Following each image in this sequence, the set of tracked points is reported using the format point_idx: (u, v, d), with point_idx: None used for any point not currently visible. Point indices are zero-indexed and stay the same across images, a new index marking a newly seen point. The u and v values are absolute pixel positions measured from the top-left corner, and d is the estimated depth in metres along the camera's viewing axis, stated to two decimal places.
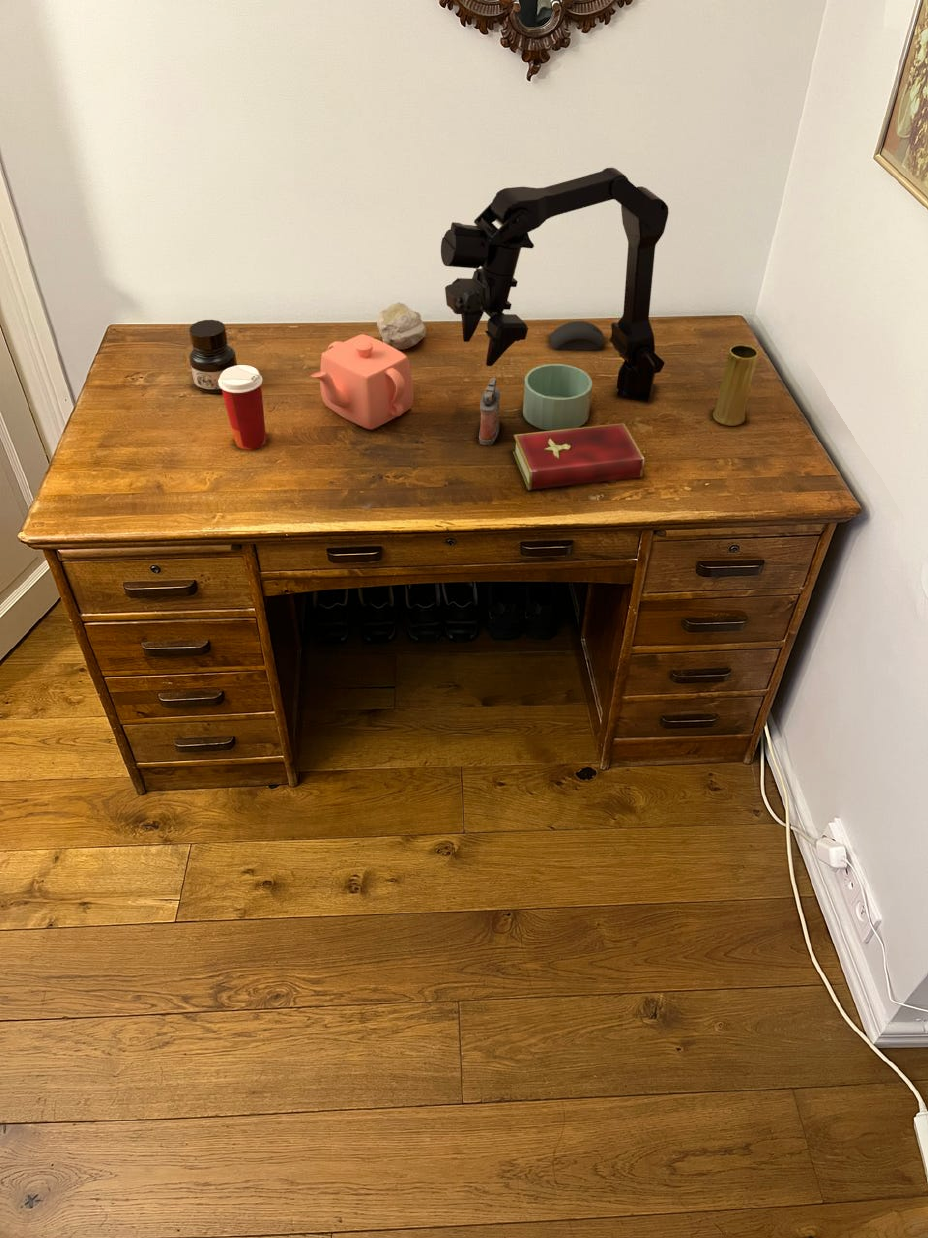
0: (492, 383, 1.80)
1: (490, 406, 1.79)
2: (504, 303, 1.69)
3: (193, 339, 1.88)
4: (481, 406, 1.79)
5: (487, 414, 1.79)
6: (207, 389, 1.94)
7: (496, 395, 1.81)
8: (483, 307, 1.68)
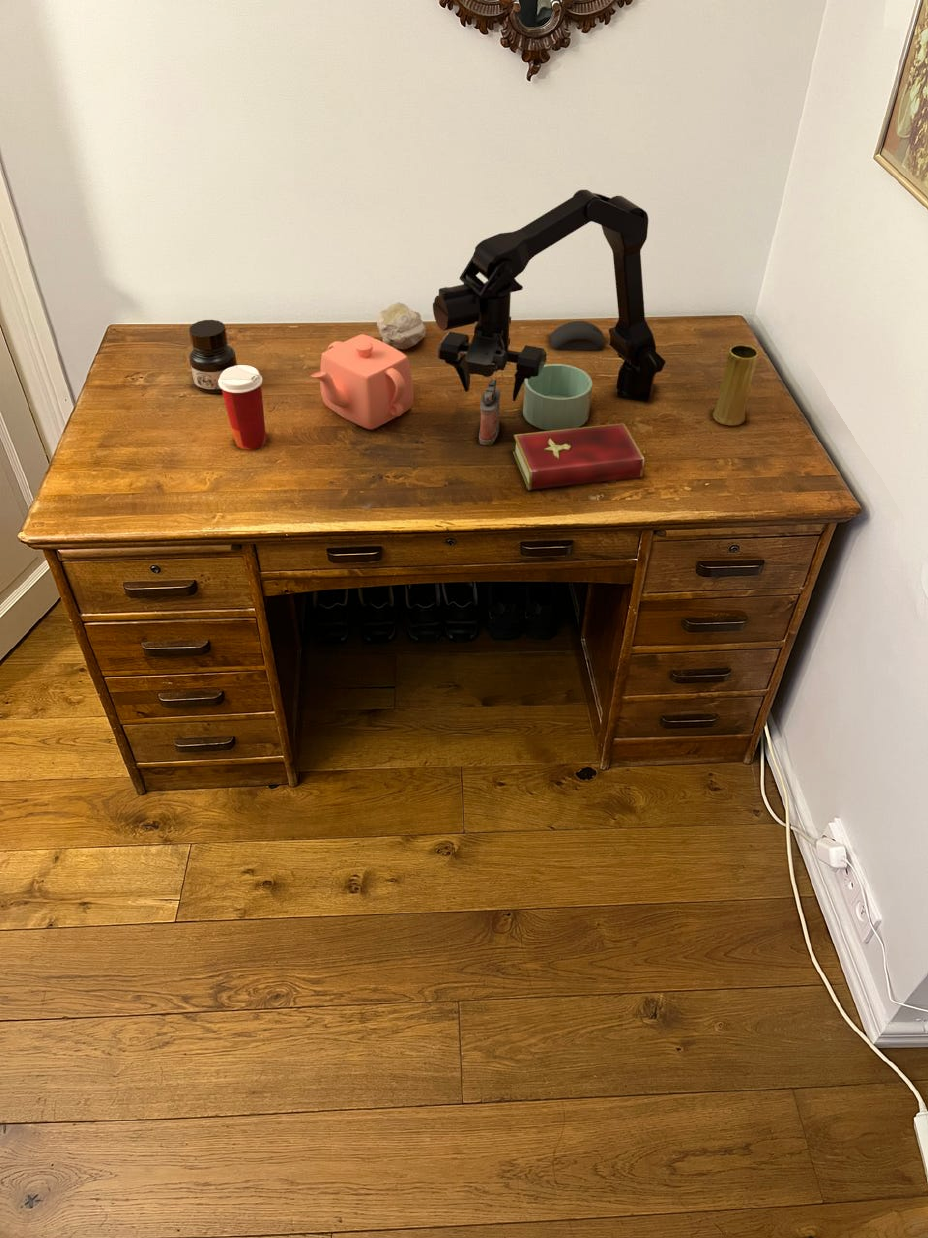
0: (492, 383, 1.80)
1: (490, 406, 1.79)
2: (508, 341, 1.73)
3: (193, 339, 1.88)
4: (481, 406, 1.79)
5: (487, 414, 1.79)
6: (207, 389, 1.94)
7: (496, 395, 1.81)
8: None
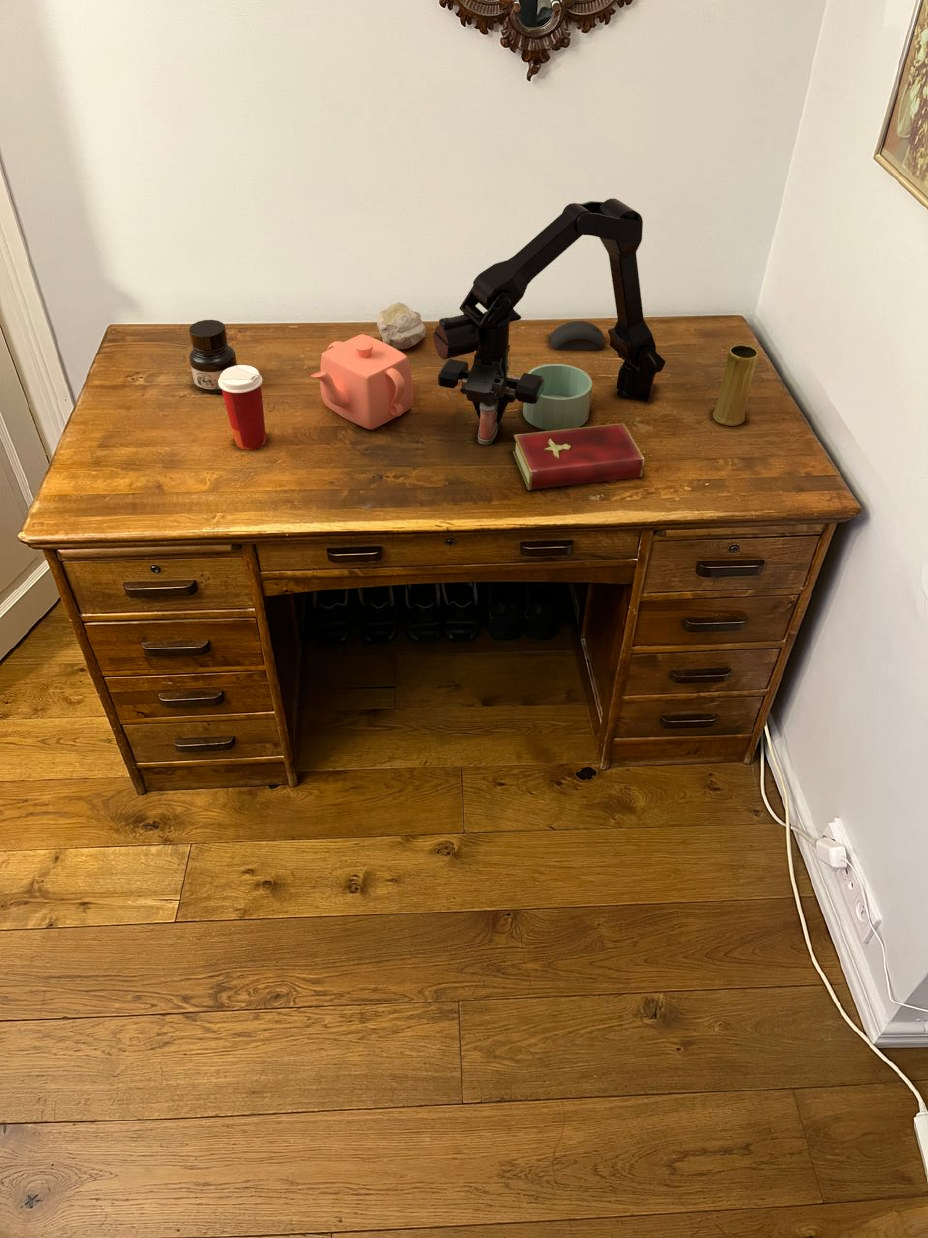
0: None
1: (490, 405, 1.79)
2: (507, 369, 1.77)
3: (193, 339, 1.88)
4: (481, 406, 1.79)
5: (487, 414, 1.79)
6: (207, 389, 1.94)
7: None
8: None
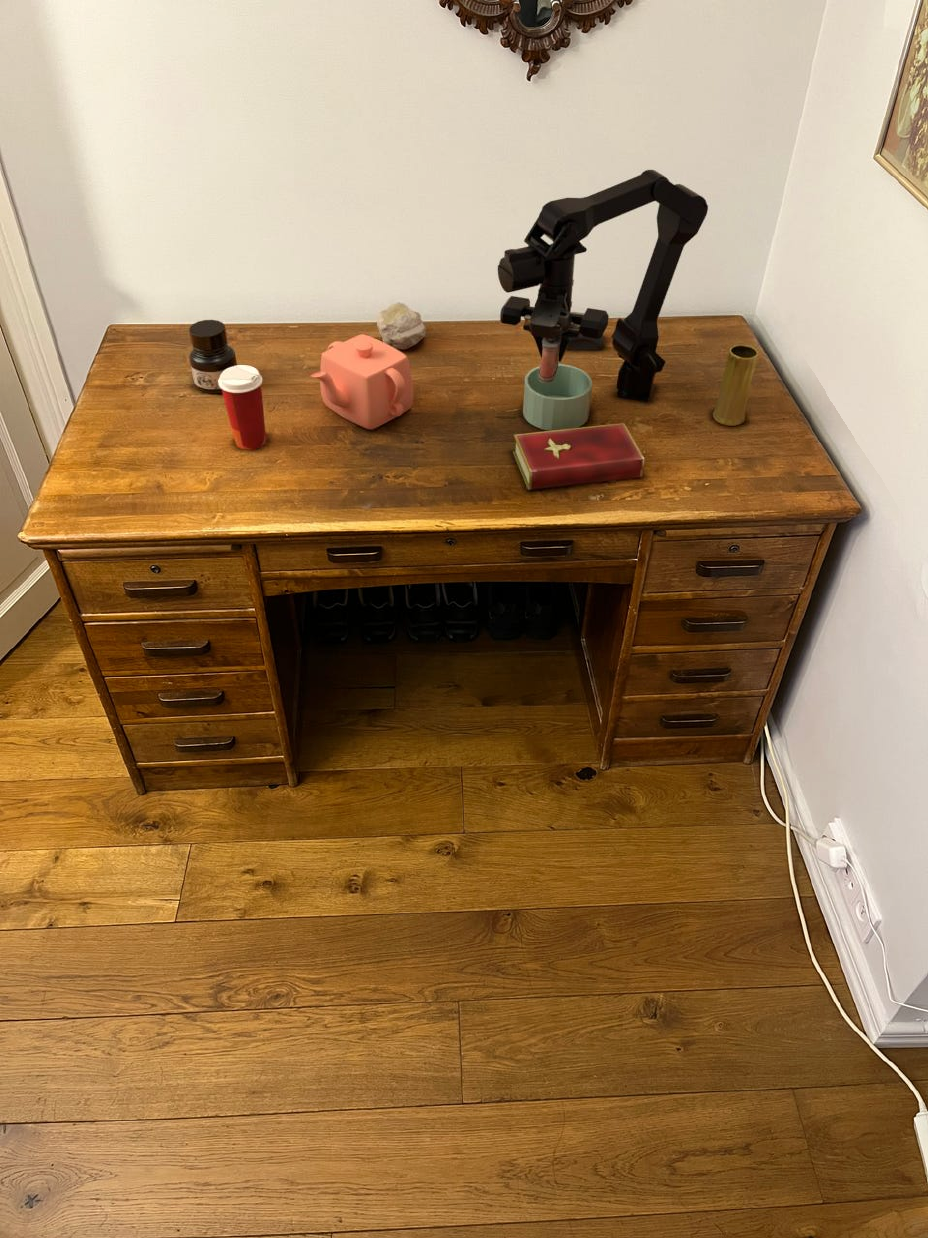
0: None
1: (553, 342, 1.77)
2: None
3: (193, 339, 1.88)
4: (544, 342, 1.76)
5: (550, 351, 1.76)
6: (207, 389, 1.94)
7: None
8: None
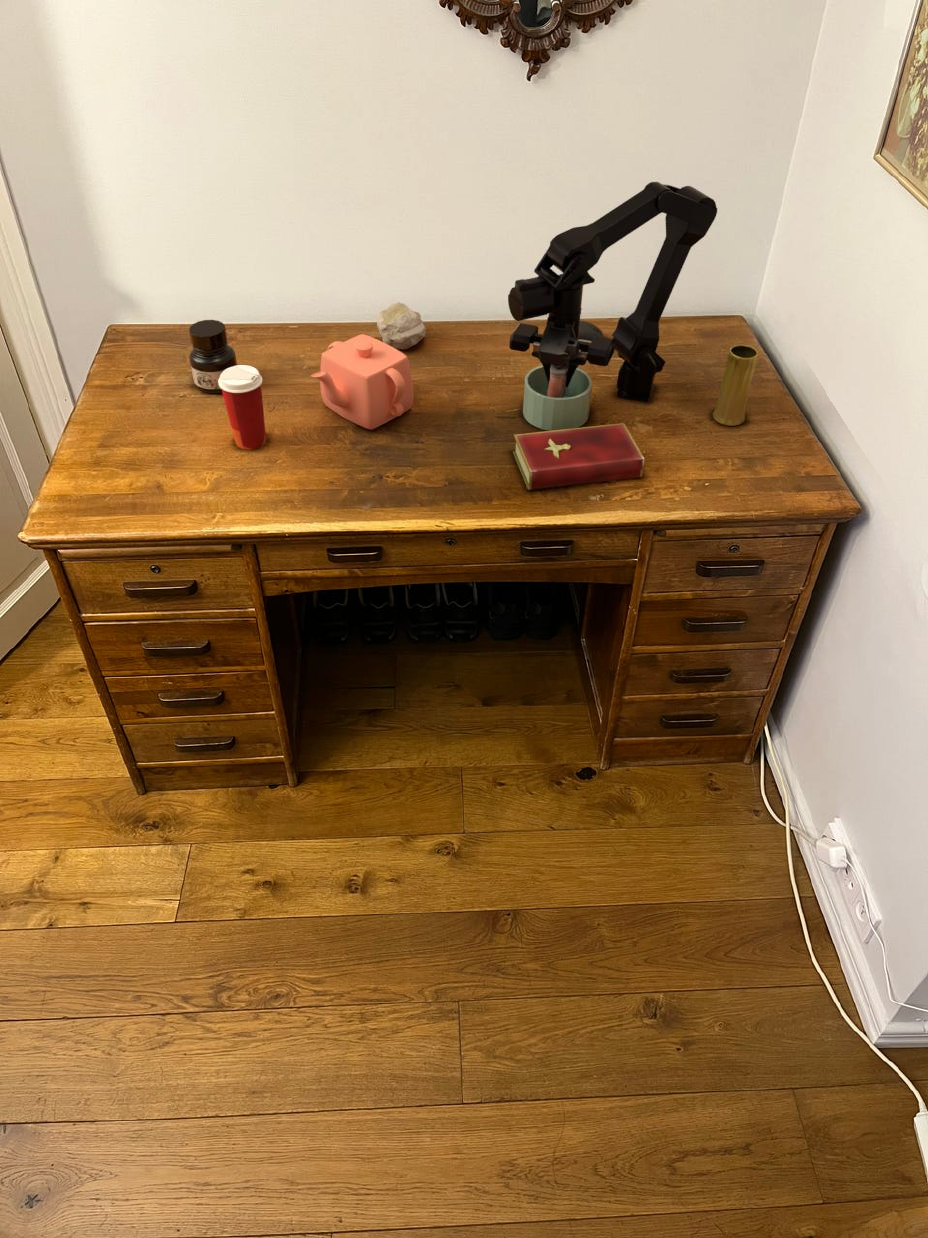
0: None
1: (560, 369, 1.81)
2: None
3: (193, 339, 1.88)
4: (552, 369, 1.81)
5: (558, 377, 1.81)
6: (207, 389, 1.94)
7: None
8: None
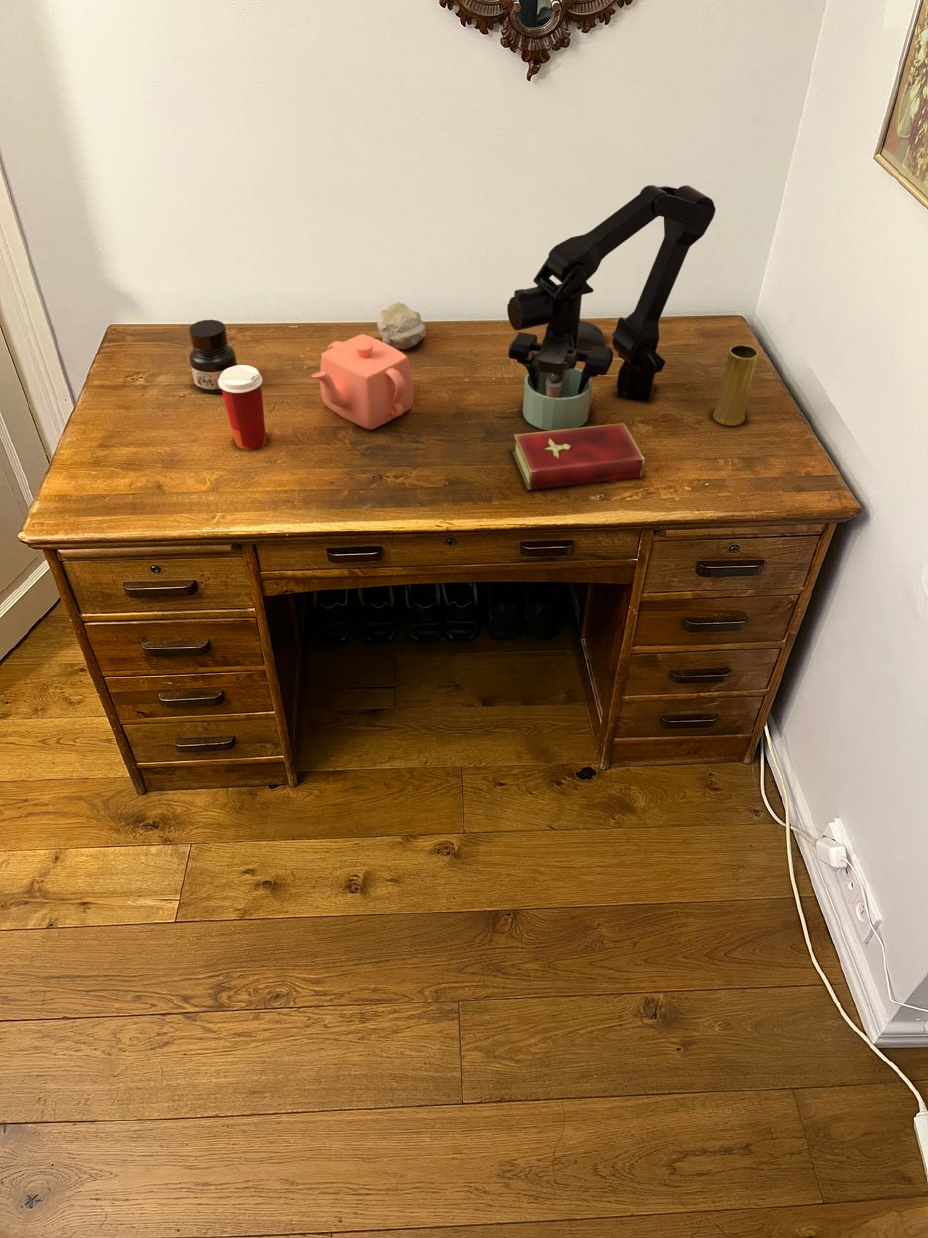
0: None
1: (556, 383, 1.84)
2: None
3: (193, 339, 1.88)
4: (547, 383, 1.84)
5: (553, 390, 1.84)
6: (207, 389, 1.94)
7: None
8: None
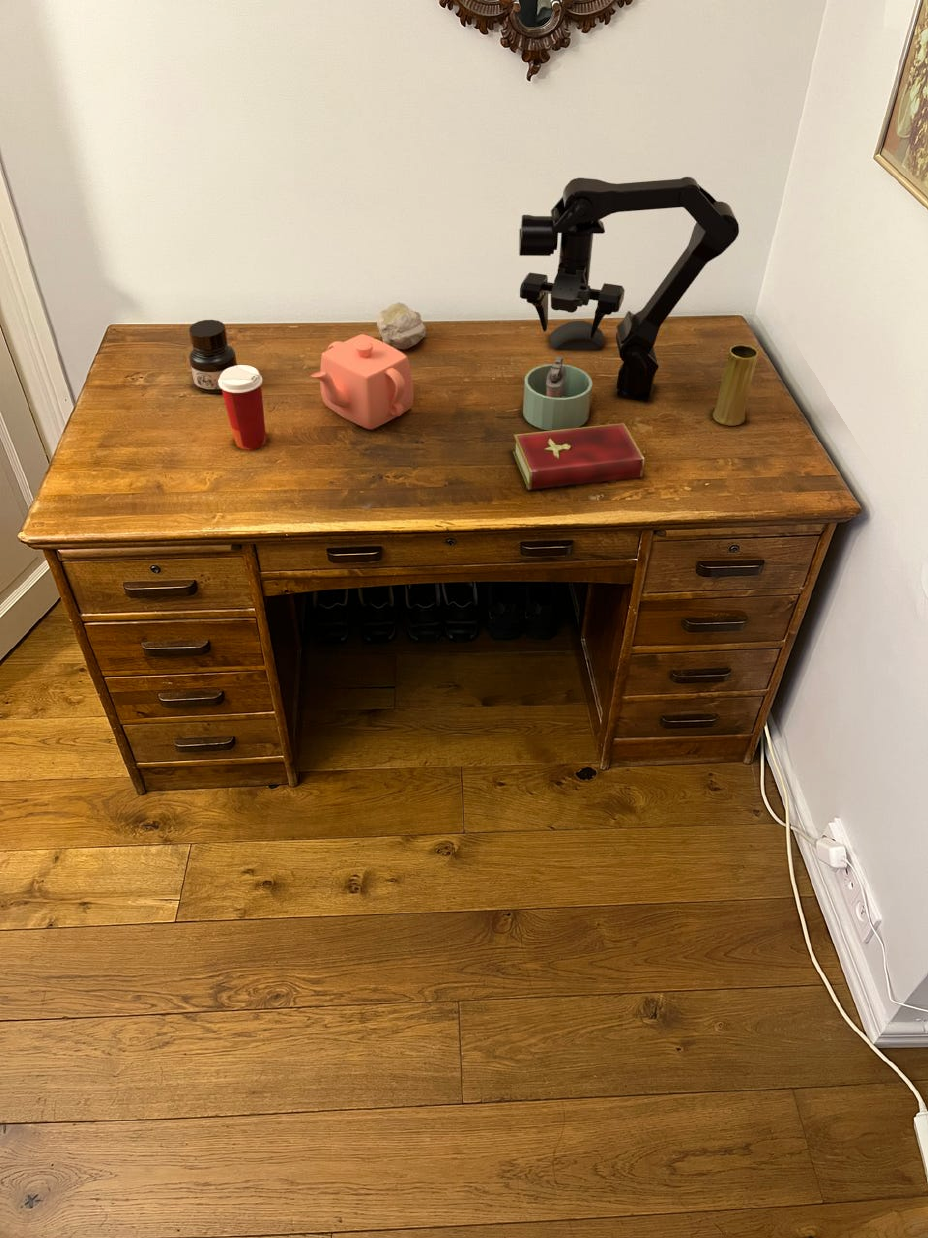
0: (559, 361, 1.85)
1: (556, 383, 1.84)
2: None
3: (193, 339, 1.88)
4: (547, 383, 1.84)
5: (553, 390, 1.84)
6: (207, 389, 1.94)
7: (562, 373, 1.86)
8: None
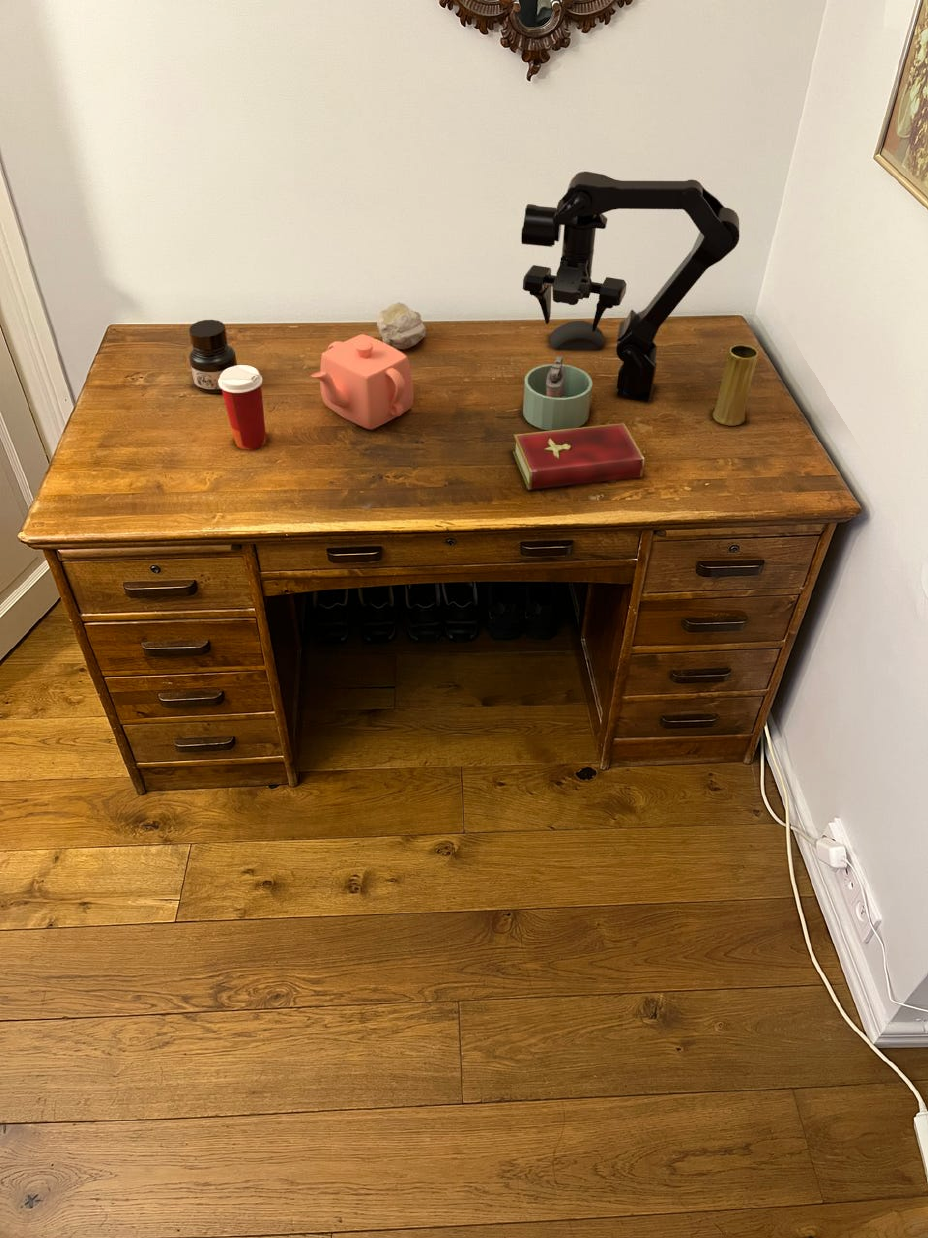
0: (559, 361, 1.85)
1: (556, 383, 1.84)
2: None
3: (193, 339, 1.88)
4: (547, 383, 1.84)
5: (553, 390, 1.84)
6: (207, 389, 1.94)
7: (562, 373, 1.86)
8: None
